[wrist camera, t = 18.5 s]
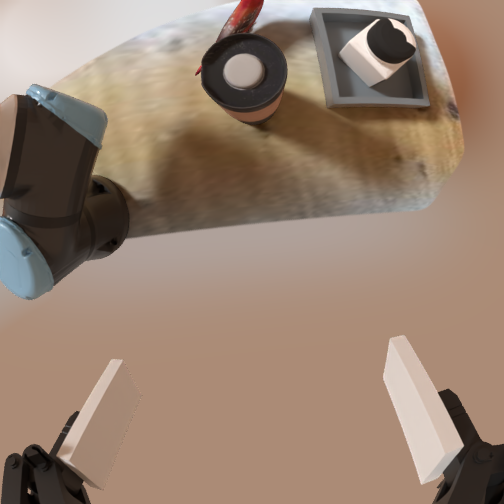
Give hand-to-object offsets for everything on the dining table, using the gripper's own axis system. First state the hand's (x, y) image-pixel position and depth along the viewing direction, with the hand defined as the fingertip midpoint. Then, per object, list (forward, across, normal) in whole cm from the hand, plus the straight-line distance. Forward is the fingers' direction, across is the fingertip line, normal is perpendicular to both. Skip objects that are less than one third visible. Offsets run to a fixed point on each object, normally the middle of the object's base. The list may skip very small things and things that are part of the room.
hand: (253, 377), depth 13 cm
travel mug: (+35, +1, +17) cm, 39 cm away
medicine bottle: (+34, +20, +23) cm, 45 cm away
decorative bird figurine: (+35, 0, +28) cm, 45 cm away
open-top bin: (+35, +20, +23) cm, 46 cm away
